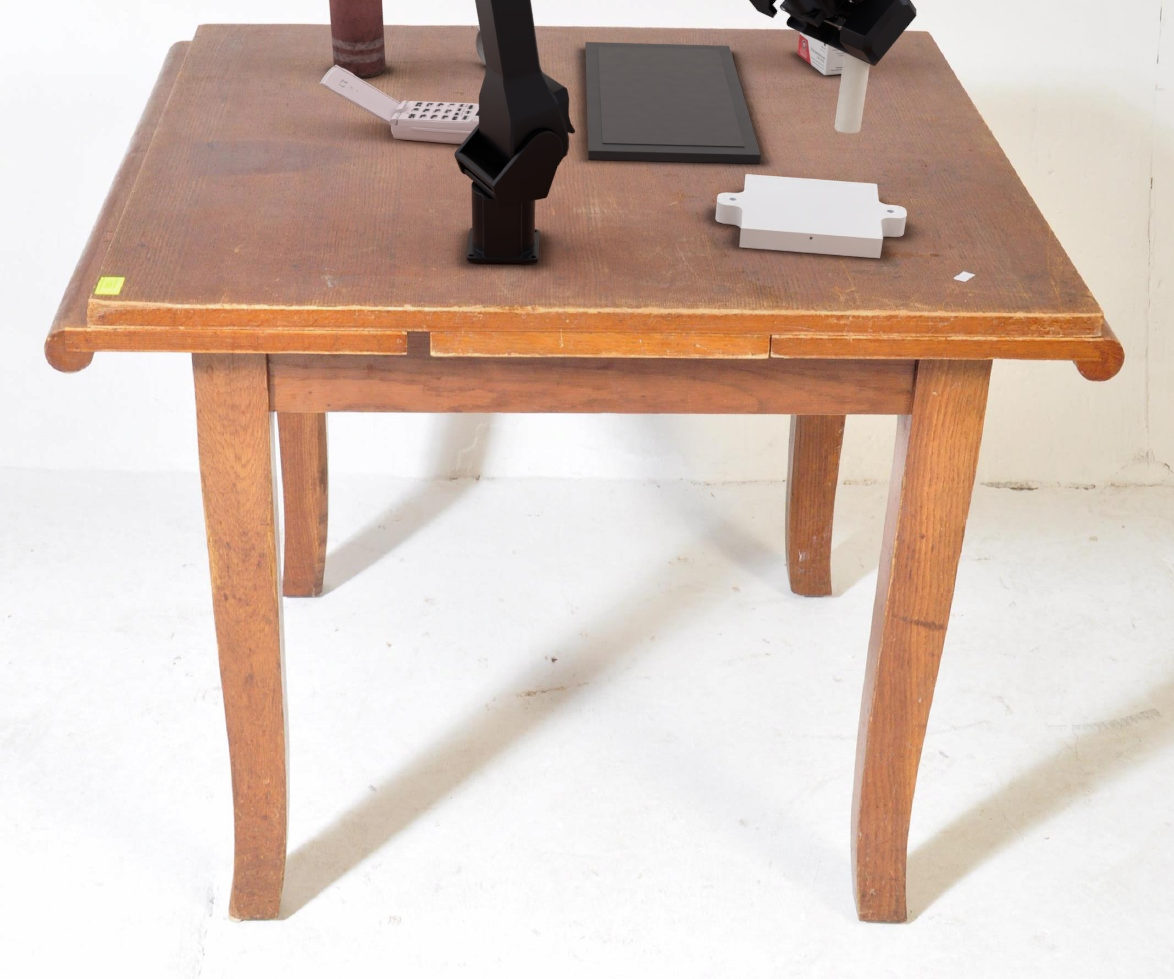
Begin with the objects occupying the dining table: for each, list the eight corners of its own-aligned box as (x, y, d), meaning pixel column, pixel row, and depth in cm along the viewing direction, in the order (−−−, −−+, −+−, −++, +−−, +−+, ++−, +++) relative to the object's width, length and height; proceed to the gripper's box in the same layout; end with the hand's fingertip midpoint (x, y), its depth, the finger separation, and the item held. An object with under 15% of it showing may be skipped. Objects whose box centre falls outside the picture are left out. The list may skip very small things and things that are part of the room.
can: (325, 65, 172) (316, -56, 164) (376, 60, 174) (369, -60, 166) (340, 82, 167) (331, -42, 159) (392, 75, 170) (386, -47, 162)
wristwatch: (470, 63, 174) (469, 22, 171) (488, 59, 175) (488, 18, 172) (500, 78, 170) (499, 35, 167) (518, 73, 171) (518, 31, 169)
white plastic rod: (863, 134, 144) (884, -9, 136) (837, 134, 143) (857, -9, 135) (856, 124, 146) (876, -17, 138) (831, 124, 145) (850, -17, 137)
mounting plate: (712, 245, 134) (713, 226, 133) (718, 190, 144) (720, 172, 143) (907, 260, 132) (910, 241, 131) (899, 204, 143) (902, 185, 142)
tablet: (759, 164, 150) (760, 154, 150) (588, 159, 150) (588, 149, 149) (728, 53, 180) (729, 45, 179) (585, 50, 180) (585, 41, 179)
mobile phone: (331, 63, 155) (561, 78, 152) (335, 116, 158) (560, 132, 156) (315, 83, 150) (552, 99, 148) (320, 137, 153) (552, 153, 151)
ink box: (795, 54, 180) (805, -43, 174) (830, 51, 182) (843, -45, 175) (823, 76, 174) (836, -24, 167) (860, 73, 175) (874, -26, 168)
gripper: (918, -97, 123) (988, 18, 134) (786, -140, 136) (860, -32, 147) (833, 7, 124) (910, 113, 135) (710, -45, 137) (790, 55, 148)
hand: (867, 57), depth 141 cm, fingers closed on white plastic rod, 2 cm apart
